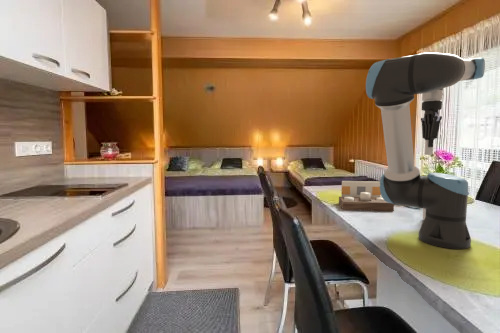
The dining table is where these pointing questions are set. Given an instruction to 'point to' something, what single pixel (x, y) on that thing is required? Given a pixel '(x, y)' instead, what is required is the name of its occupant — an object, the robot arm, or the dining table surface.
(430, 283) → the dining table surface
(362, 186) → the pattern card
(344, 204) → the button board
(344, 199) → the button
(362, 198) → the button
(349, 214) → the dining table surface
